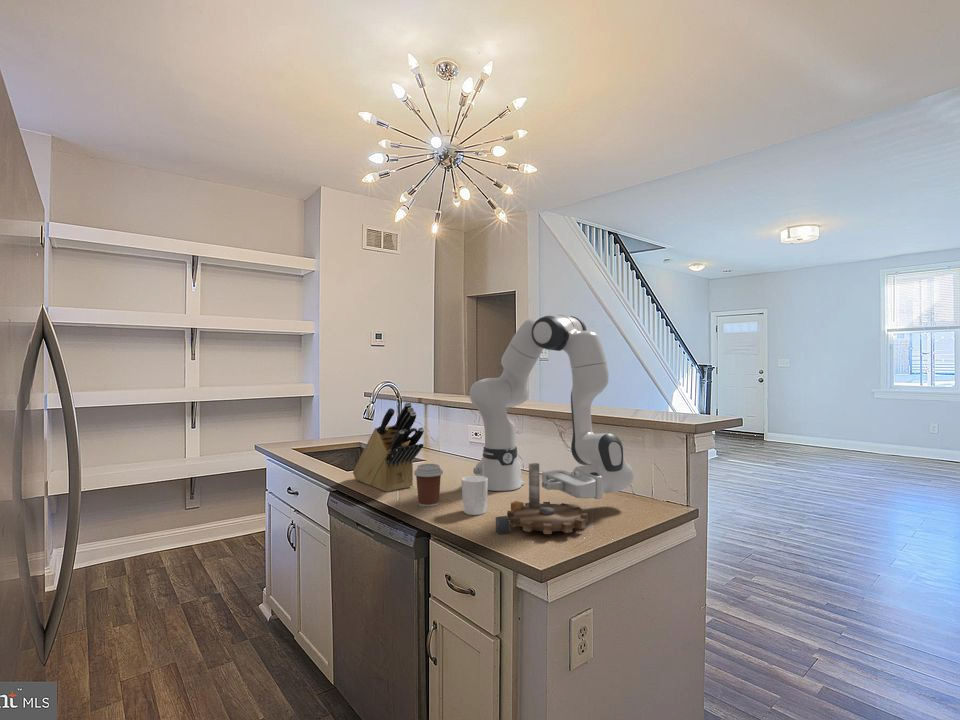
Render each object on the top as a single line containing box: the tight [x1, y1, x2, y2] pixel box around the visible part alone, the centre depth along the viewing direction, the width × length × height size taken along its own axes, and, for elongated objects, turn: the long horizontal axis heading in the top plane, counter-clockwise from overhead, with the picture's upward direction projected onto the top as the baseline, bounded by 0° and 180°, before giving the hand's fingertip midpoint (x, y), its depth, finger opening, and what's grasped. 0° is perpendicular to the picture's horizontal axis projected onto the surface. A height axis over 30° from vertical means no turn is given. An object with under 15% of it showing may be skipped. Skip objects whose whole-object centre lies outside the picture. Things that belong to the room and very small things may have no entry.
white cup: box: [461, 475, 488, 516], centre depth 152 cm, size 8×8×10 cm
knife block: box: [352, 401, 425, 493], centre depth 184 cm, size 11×35×31 cm, turn 39°
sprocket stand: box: [495, 515, 510, 535], centre depth 136 cm, size 8×19×4 cm, turn 113°
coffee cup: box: [413, 463, 444, 507], centre depth 161 cm, size 9×9×12 cm
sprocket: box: [506, 462, 589, 535], centre depth 138 cm, size 22×22×14 cm
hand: (544, 485), depth 146 cm, fingers closed
